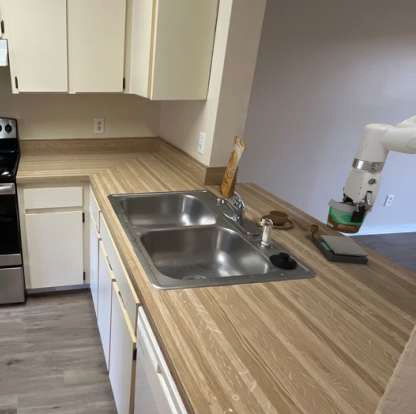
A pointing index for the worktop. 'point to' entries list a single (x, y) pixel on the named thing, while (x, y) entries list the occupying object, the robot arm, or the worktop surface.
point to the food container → (343, 217)
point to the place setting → (282, 218)
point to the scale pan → (343, 245)
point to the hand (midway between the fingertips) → (350, 217)
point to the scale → (338, 257)
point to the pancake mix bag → (232, 168)
